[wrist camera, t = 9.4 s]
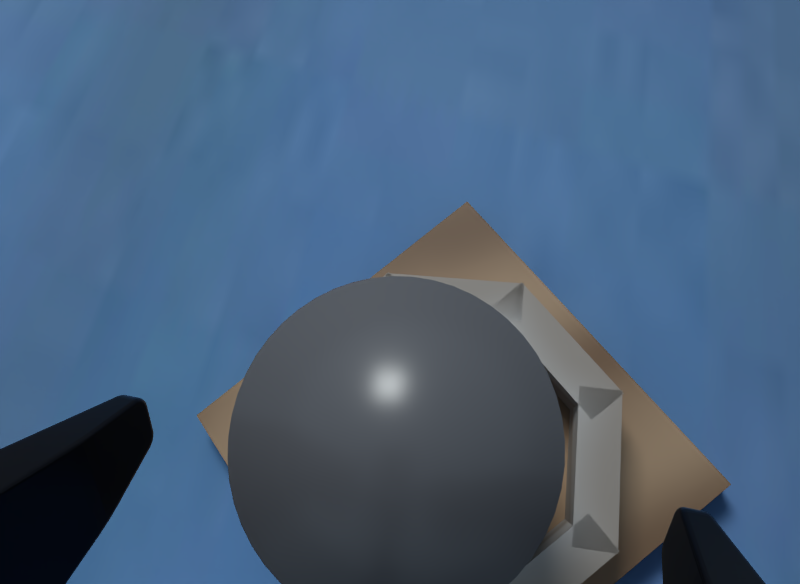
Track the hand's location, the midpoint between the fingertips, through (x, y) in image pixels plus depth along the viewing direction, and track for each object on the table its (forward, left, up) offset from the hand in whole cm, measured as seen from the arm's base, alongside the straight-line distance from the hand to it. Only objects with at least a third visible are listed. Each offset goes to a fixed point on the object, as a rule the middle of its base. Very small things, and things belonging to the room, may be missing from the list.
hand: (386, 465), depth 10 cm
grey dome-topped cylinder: (0, 0, -10) cm, 10 cm away
